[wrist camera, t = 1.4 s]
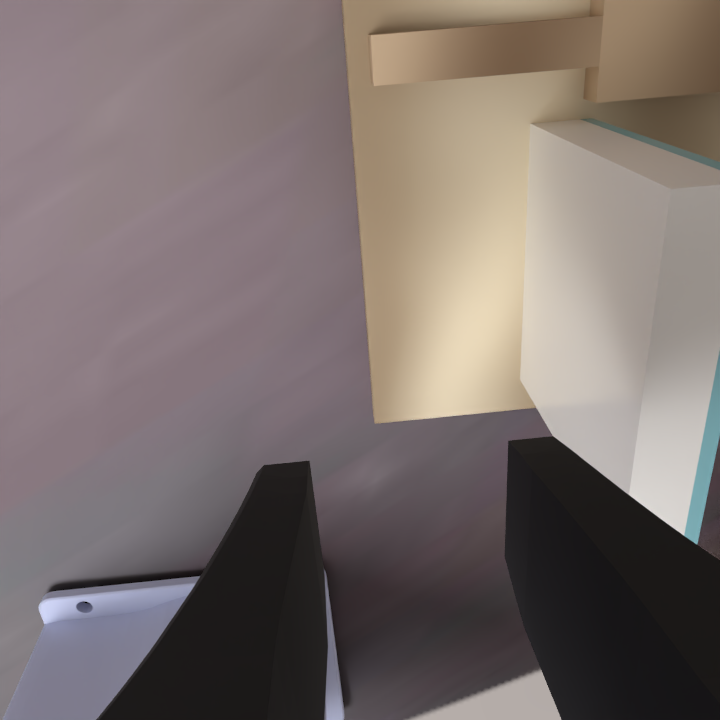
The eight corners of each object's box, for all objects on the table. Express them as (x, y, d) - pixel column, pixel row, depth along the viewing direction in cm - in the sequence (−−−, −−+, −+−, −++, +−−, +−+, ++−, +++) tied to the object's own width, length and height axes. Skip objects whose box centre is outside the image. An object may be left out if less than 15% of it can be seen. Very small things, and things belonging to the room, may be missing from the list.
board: (373, 413, 20) (374, 423, 19) (340, -4, 15) (342, -5, 14) (797, 371, 20) (810, 380, 20) (904, -50, 15) (925, -53, 15)
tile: (520, 379, 19) (620, 552, 13) (529, 123, 16) (671, 189, 10) (571, 374, 19) (697, 544, 13) (592, 118, 16) (771, 180, 10)
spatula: (372, 117, 16) (375, 121, 15) (365, -4, 15) (368, -5, 14) (831, 77, 16) (856, 79, 15) (858, -45, 15) (887, -48, 14)
